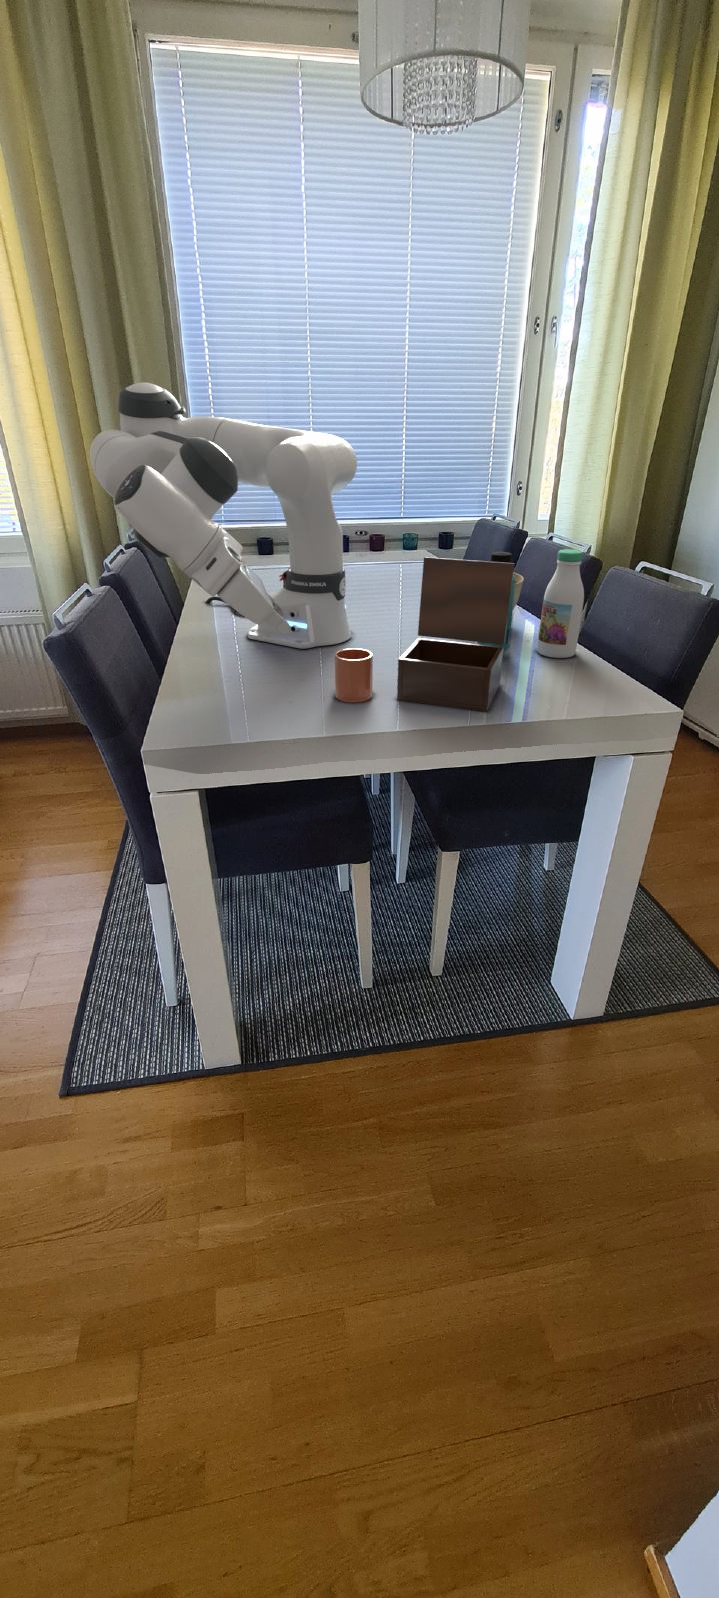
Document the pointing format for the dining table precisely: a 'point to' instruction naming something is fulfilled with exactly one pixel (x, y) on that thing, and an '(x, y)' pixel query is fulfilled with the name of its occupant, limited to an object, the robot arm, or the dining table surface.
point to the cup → (353, 675)
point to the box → (450, 674)
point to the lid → (465, 599)
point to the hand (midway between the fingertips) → (283, 621)
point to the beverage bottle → (507, 558)
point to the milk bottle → (562, 608)
